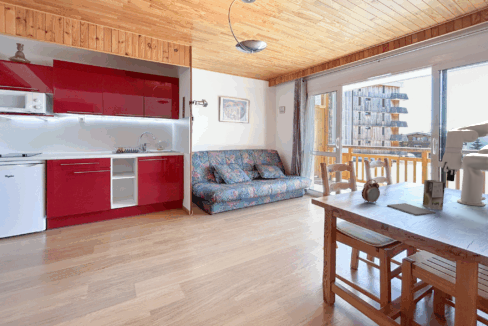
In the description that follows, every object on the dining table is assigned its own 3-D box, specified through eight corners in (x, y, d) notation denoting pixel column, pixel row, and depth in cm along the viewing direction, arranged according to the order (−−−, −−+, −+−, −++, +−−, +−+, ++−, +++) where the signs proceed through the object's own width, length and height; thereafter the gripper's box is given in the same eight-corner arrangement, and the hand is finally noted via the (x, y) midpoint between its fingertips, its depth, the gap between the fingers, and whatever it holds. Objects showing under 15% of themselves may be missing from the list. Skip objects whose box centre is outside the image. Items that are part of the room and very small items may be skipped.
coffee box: (443, 210, 134) (445, 182, 132) (430, 209, 135) (432, 182, 133) (433, 205, 143) (436, 179, 141) (421, 204, 144) (424, 179, 142)
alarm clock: (366, 204, 145) (367, 180, 144) (360, 202, 150) (361, 179, 148) (380, 203, 148) (381, 180, 147) (374, 201, 153) (375, 178, 151)
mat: (405, 204, 145) (405, 203, 145) (435, 213, 128) (435, 212, 128) (387, 206, 142) (387, 204, 141) (415, 215, 124) (415, 214, 124)
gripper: (455, 150, 144) (452, 179, 146) (437, 150, 140) (434, 180, 142) (469, 151, 137) (466, 181, 139) (451, 151, 133) (447, 182, 135)
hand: (450, 180), depth 140 cm, fingers closed
